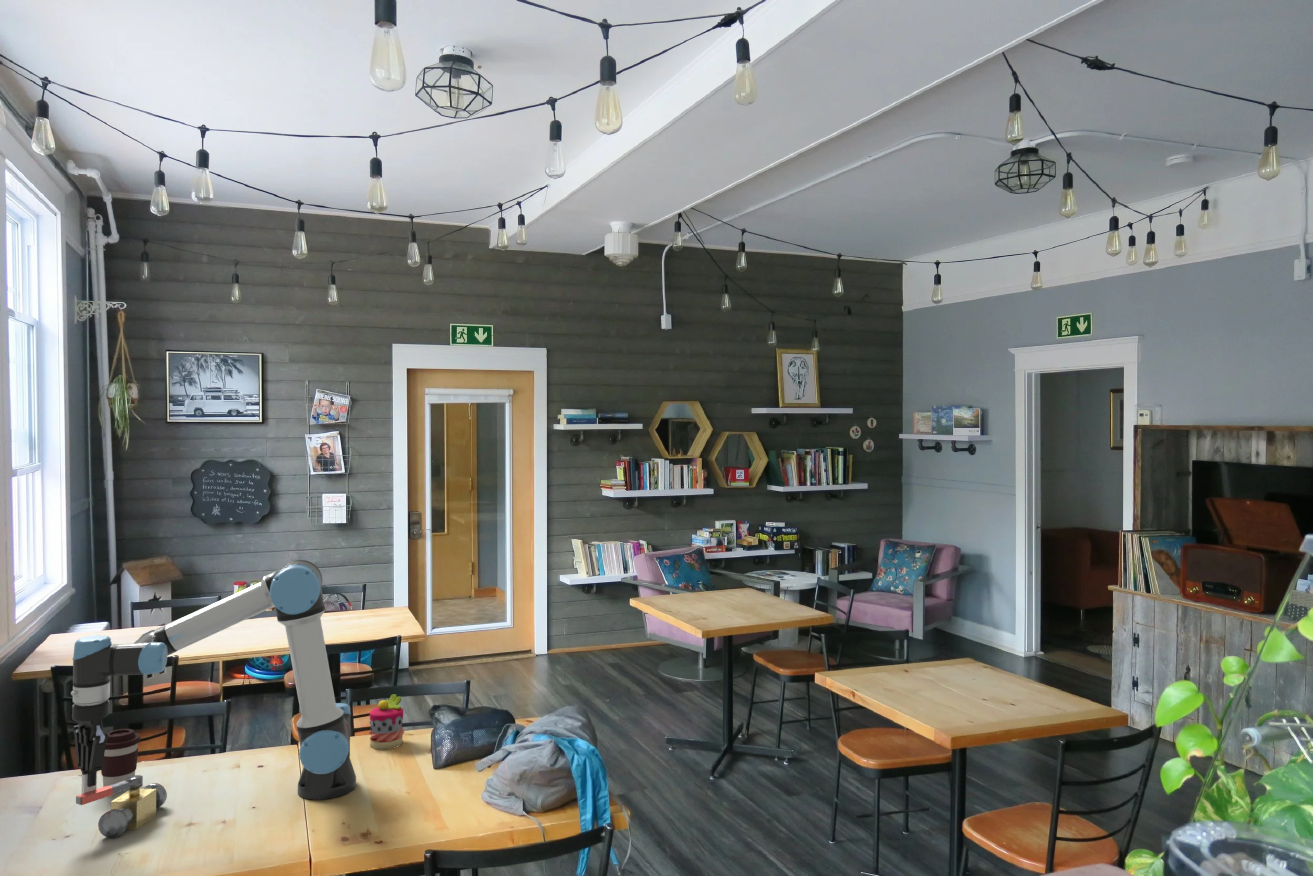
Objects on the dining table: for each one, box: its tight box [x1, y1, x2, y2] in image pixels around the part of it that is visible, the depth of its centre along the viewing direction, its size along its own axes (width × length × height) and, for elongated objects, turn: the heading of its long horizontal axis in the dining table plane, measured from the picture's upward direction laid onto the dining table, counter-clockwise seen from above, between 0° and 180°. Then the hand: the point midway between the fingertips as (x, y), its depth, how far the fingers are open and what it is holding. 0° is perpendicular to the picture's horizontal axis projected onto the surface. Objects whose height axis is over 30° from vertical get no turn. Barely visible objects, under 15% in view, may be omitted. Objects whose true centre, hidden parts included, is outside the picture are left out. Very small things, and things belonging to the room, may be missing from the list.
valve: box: [97, 782, 168, 839], centre depth 214 cm, size 20×6×9 cm, turn 179°
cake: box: [368, 694, 405, 751], centre depth 271 cm, size 10×11×15 cm
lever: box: [75, 774, 144, 806], centre depth 209 cm, size 15×4×2 cm, turn 150°
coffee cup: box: [100, 728, 141, 787], centre depth 236 cm, size 10×10×15 cm
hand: (88, 798), depth 207 cm, fingers closed
